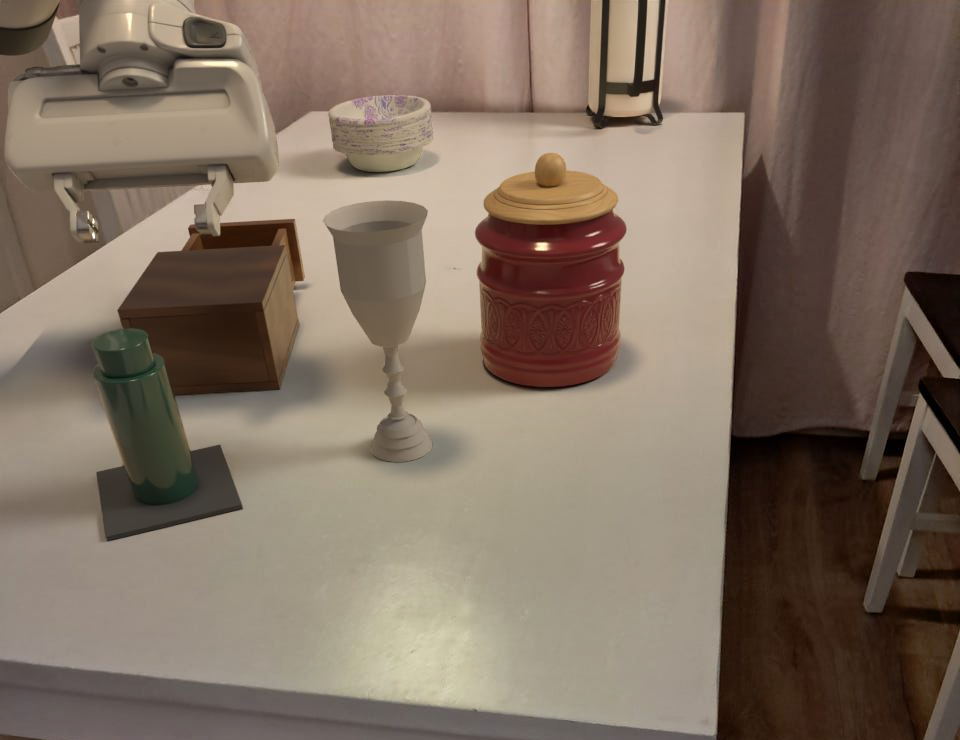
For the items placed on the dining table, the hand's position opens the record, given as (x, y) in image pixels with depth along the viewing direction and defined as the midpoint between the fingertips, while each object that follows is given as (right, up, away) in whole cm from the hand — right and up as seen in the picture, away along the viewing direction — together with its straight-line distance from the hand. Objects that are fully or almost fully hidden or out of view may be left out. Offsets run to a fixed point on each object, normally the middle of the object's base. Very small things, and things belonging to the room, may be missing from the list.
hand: (146, 236), depth 70 cm
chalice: (+19, -15, +6) cm, 25 cm away
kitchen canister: (+32, -5, +17) cm, 36 cm away
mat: (+1, -19, +2) cm, 19 cm away
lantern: (+50, +56, +84) cm, 112 cm away
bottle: (+1, -19, +2) cm, 19 cm away
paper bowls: (+11, +42, +70) cm, 82 cm away
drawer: (0, +7, +30) cm, 30 cm away
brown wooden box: (+1, -3, +20) cm, 20 cm away
